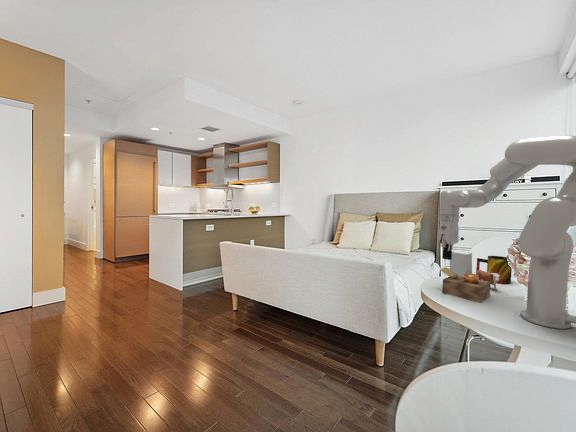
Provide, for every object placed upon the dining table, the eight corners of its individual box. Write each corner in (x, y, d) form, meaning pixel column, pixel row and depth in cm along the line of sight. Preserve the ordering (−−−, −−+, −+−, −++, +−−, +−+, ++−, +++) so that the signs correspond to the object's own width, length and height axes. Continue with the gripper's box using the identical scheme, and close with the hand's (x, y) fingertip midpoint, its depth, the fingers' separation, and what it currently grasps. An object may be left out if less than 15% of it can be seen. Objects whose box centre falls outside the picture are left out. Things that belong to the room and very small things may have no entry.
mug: (475, 276, 144) (476, 254, 144) (508, 280, 137) (510, 257, 136) (477, 280, 136) (478, 257, 135) (512, 285, 129) (514, 260, 128)
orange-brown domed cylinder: (479, 294, 115) (480, 275, 114) (475, 297, 112) (476, 277, 111) (465, 291, 119) (466, 272, 118) (461, 293, 116) (461, 274, 115)
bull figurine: (494, 293, 118) (496, 274, 118) (473, 283, 132) (473, 267, 131) (504, 293, 119) (505, 274, 118) (481, 283, 132) (482, 267, 131)
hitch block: (489, 296, 115) (490, 282, 114) (479, 302, 107) (480, 287, 107) (453, 287, 126) (454, 274, 125) (442, 292, 118) (442, 279, 118)
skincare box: (472, 282, 133) (473, 252, 132) (466, 284, 130) (467, 253, 129) (454, 278, 140) (455, 249, 139) (448, 280, 137) (449, 251, 136)
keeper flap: (457, 277, 121) (458, 275, 120) (453, 279, 118) (454, 277, 118) (444, 269, 125) (445, 267, 125) (440, 270, 122) (441, 268, 122)
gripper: (451, 219, 113) (448, 263, 114) (464, 218, 122) (462, 258, 124) (432, 218, 119) (430, 259, 120) (447, 217, 128) (445, 255, 130)
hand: (446, 259), depth 122 cm, fingers closed
